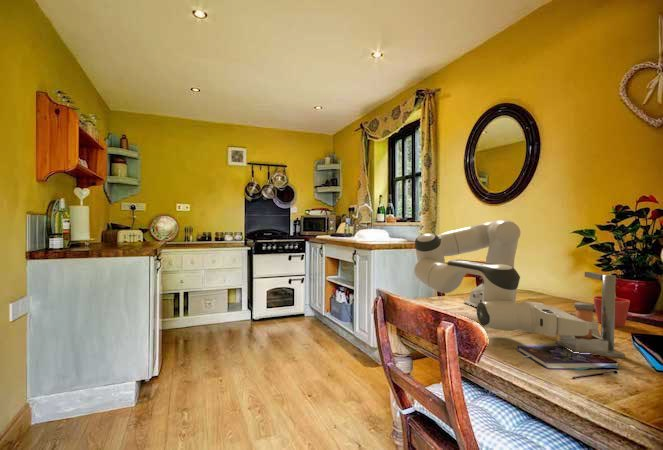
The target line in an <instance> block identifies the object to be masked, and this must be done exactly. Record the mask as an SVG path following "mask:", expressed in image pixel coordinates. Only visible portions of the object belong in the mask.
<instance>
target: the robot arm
mask: <svg viewBox="0 0 663 450" xmlns="http://www.w3.org/2000/svg"><path fill="white" fill-rule="evenodd" d="M520 238H521V229H520V227H519V226H518V224H516V223H515V222H513V221H512V220H510V219H496V220H491V221H487V222H483V223H479V224H475V225H471V226H467V227H461V228H458V229H453V230H449V231H445V232H441V233H439V234H434V233H431V232H427V233H426V232H425V233H422V234H420V235H418V236H417V237H416V238H415V240H414V249H415V253H416V258H417V262H416V264H415V266H414V271H413V273H414V276H415V277H416V279H417V280H418V281H420V282H421V284H423V285H426V286H427V287H428V288H431V289H432V290H434V291H436V292H438V293H442V294H450V293H452V292H454V291H456V290H457V289H458V288H459V287H460V286H461V285H462V282H463V280H464V278H465V276H466V275H467V274H469V275H470V274H471V275H476V276H480V280H482V281H481V284H479V285H477V286H476V287H475V288H472V290H470V294H469V299H465V300H464V301H463V303H464V302H465V303H467V304H470V305H472V306H474V307H473V308H475V307H477V308H476V316H477V320H478V322H479V323H480V325H481V326H482V327H486V328H488V329H493V330H498V331H506V332H507V331H509V332H514V331H522V332H524V333H534V334H541V335H543V336H547V337H550V338H551V337H552V338H556V337H557V336H560V335H562V336H586V335H588V333H589V329H598V330H599V324H600V323H599V322H598V321H595V322H594V321H589V322H586V321H584V320H582V319H579V318H577V317H575V314H576V312H569V311H565V310H562V309H560V308H557V307H555V306H552V305H546V304H545V303H542V302H535V301H533V302H532V301H521V302H520V301H519V302H516V299H517V292H518V287H519V284H520V280H521V275H520V273H518V271H517V270H516V268H515V257H516V251H517V247H518V244H519V239H520ZM486 248H488V249H487V253H486V256H485V262H481V261H475V260H468V259H451V260H449V261H448V262H447V263H446V261H445V260H446V259H445V257H451V256H452V257H453V256H457V255H462V254H467V253H468V254H469V253H472V252H476V251H479V250H482V249H486ZM465 303H464V304H465ZM467 304H466V305H467ZM470 305H469V306H470ZM472 306H471V307H472Z"/></svg>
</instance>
